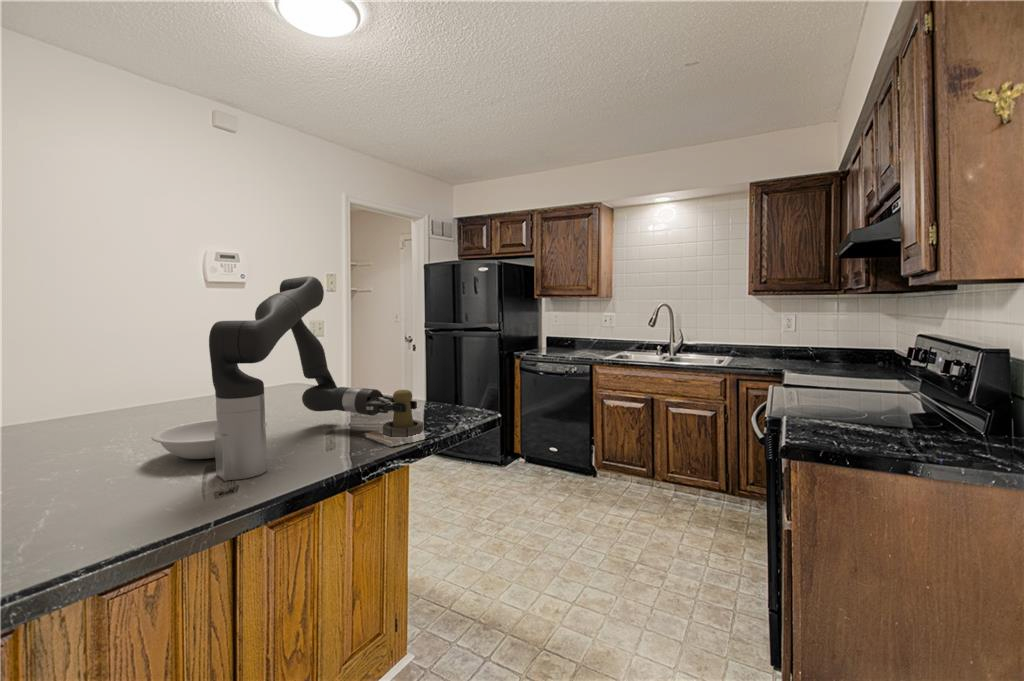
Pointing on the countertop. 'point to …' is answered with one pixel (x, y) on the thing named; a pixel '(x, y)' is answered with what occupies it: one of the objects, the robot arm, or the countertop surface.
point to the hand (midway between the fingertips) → (410, 406)
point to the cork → (403, 417)
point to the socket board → (397, 431)
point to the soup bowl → (189, 439)
